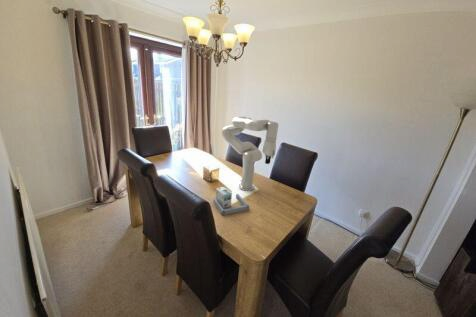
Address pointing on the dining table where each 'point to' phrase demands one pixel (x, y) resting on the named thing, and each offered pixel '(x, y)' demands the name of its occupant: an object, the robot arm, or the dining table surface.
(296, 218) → the dining table surface
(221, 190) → the light bulb box
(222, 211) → the dock
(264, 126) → the robot arm
